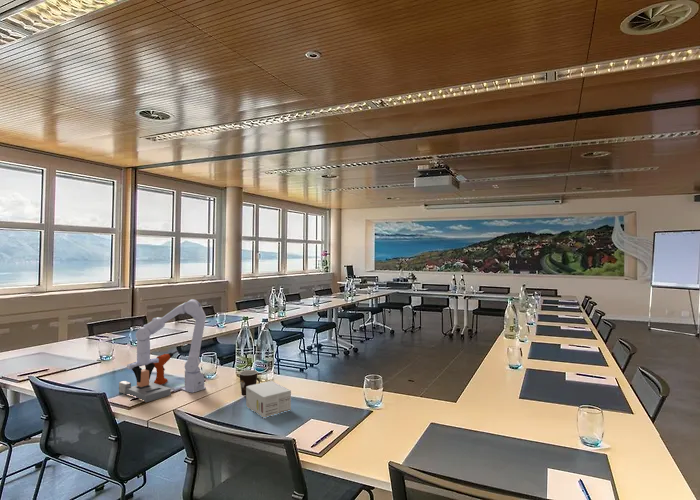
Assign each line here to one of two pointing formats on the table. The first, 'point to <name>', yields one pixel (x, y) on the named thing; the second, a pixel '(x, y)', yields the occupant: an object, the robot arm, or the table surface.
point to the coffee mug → (247, 379)
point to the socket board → (149, 391)
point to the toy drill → (162, 368)
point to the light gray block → (124, 386)
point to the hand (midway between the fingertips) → (143, 380)
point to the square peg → (144, 378)
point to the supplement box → (268, 398)
